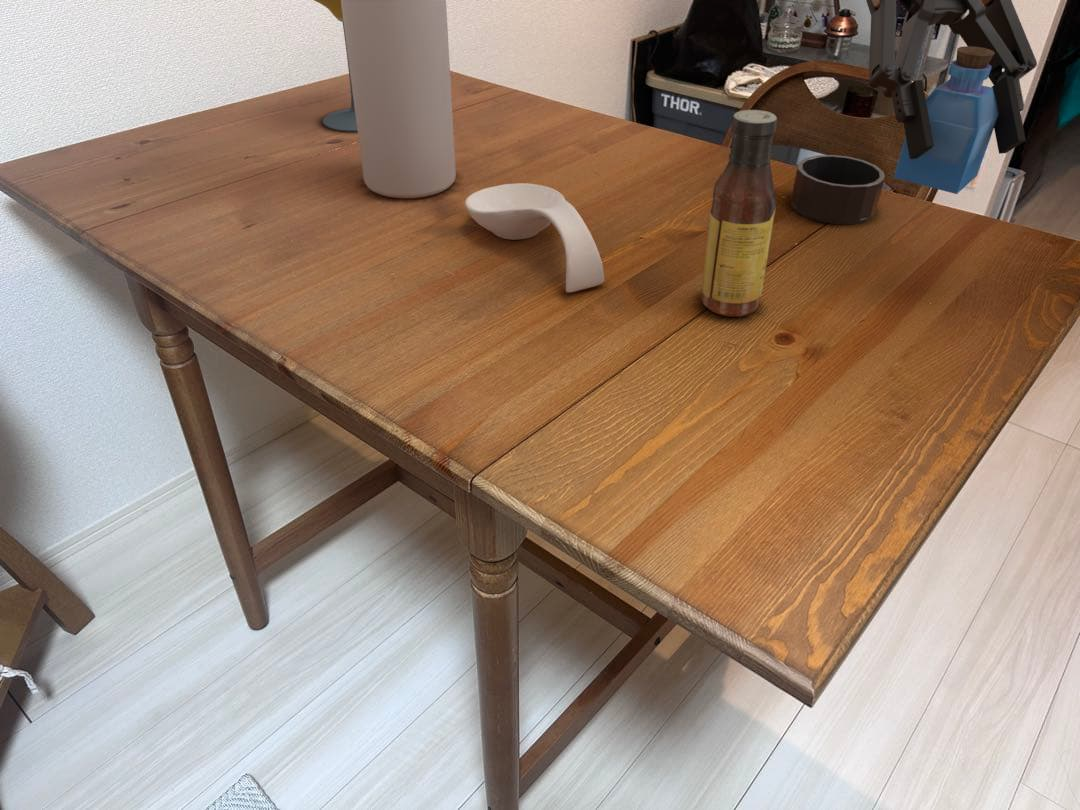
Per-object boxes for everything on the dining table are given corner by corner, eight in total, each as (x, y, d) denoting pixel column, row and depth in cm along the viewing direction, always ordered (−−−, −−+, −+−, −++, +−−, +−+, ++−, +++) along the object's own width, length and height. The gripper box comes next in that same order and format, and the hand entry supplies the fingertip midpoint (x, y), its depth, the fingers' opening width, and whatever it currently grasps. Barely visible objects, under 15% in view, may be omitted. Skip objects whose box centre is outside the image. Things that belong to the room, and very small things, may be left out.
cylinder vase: (418, 158, 119) (401, -34, 104) (474, 182, 112) (466, -19, 97) (346, 181, 112) (317, -21, 96) (402, 209, 105) (380, -4, 90)
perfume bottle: (956, 194, 79) (1001, 64, 71) (893, 177, 82) (929, 51, 74) (977, 175, 82) (1021, 50, 75) (916, 160, 85) (952, 38, 78)
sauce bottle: (770, 309, 86) (811, 120, 74) (728, 326, 83) (762, 133, 71) (726, 283, 90) (757, 101, 78) (684, 299, 87) (710, 112, 75)
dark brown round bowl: (872, 196, 110) (882, 159, 106) (876, 229, 101) (887, 191, 98) (791, 187, 112) (798, 151, 109) (789, 218, 104) (797, 181, 101)
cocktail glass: (377, 96, 142) (358, -69, 126) (434, 123, 131) (422, -53, 115) (280, 117, 132) (248, -58, 117) (333, 148, 122) (306, -40, 106)
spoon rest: (451, 219, 103) (447, 164, 98) (533, 201, 107) (533, 148, 103) (541, 304, 86) (542, 242, 82) (633, 279, 91) (639, 219, 86)
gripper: (999, -46, 85) (1040, 160, 82) (806, -41, 82) (842, 173, 79) (1052, -99, 78) (1099, 125, 75) (843, -96, 74) (884, 138, 72)
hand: (967, 149), depth 77 cm, fingers closed on perfume bottle, 9 cm apart
